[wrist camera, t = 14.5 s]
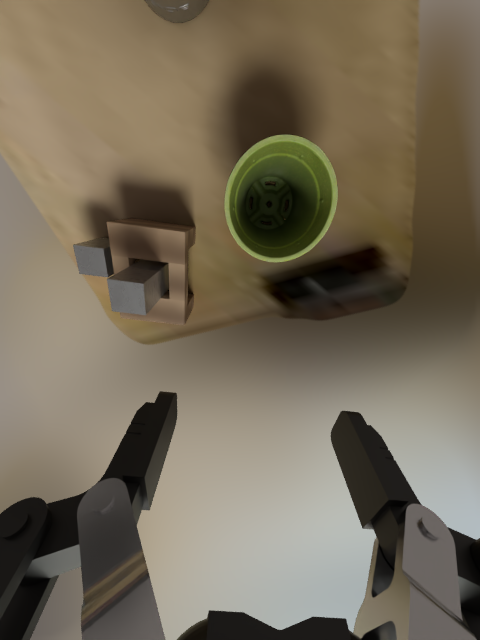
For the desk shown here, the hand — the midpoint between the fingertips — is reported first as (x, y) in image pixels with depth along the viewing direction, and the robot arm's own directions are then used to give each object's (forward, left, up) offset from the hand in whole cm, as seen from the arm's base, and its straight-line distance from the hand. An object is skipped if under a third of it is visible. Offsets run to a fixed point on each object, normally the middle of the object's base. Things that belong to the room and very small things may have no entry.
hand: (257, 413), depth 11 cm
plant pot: (-9, +2, -30) cm, 32 cm away
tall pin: (+2, -14, -30) cm, 33 cm away
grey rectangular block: (+1, -22, -30) cm, 37 cm away
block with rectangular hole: (+2, -14, -30) cm, 33 cm away
